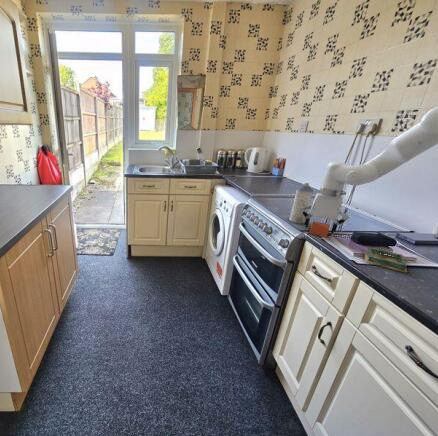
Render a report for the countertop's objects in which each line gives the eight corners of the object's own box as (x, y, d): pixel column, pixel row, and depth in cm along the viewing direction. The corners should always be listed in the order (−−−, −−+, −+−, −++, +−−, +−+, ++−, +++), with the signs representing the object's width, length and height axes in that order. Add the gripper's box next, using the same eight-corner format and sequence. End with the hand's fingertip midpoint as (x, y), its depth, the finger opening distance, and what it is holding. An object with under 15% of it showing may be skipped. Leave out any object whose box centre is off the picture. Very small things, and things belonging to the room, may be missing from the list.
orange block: (327, 233, 111) (330, 224, 109) (326, 238, 106) (329, 228, 104) (310, 229, 114) (313, 220, 113) (309, 234, 110) (311, 225, 108)
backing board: (401, 261, 89) (404, 254, 88) (406, 274, 81) (409, 267, 80) (363, 252, 95) (366, 245, 94) (364, 263, 87) (367, 256, 86)
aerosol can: (307, 224, 121) (319, 184, 114) (295, 225, 120) (306, 185, 112) (297, 219, 127) (307, 181, 120) (285, 220, 126) (295, 181, 119)
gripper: (356, 194, 101) (343, 232, 108) (307, 187, 111) (298, 222, 117) (356, 198, 96) (342, 237, 102) (305, 190, 105) (295, 226, 112)
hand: (318, 229), depth 110 cm, fingers open, 9 cm apart
